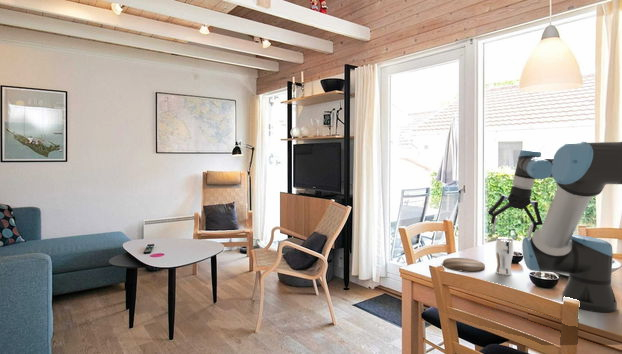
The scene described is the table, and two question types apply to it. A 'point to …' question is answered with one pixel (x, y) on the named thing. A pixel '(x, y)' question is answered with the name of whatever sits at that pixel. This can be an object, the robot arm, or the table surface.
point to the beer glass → (504, 255)
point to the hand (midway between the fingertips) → (510, 235)
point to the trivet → (464, 264)
